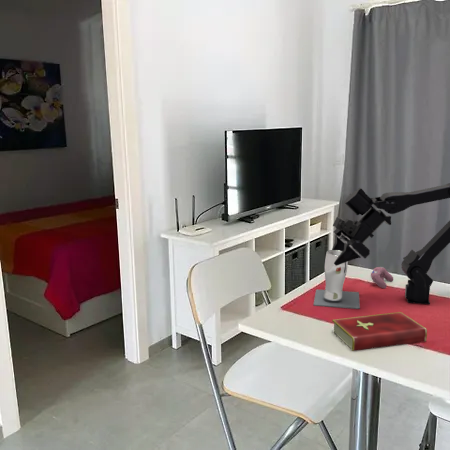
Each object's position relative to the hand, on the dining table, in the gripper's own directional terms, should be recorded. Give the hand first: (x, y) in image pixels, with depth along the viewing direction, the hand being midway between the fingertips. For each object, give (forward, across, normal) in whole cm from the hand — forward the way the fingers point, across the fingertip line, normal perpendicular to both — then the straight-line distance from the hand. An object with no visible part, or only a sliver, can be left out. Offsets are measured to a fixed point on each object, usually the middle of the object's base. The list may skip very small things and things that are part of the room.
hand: (331, 261), depth 152 cm
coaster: (+8, -2, +11) cm, 14 cm away
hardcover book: (+6, +26, +14) cm, 30 cm away
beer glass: (+8, 0, +9) cm, 12 cm away
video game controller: (-6, -15, +26) cm, 30 cm away
